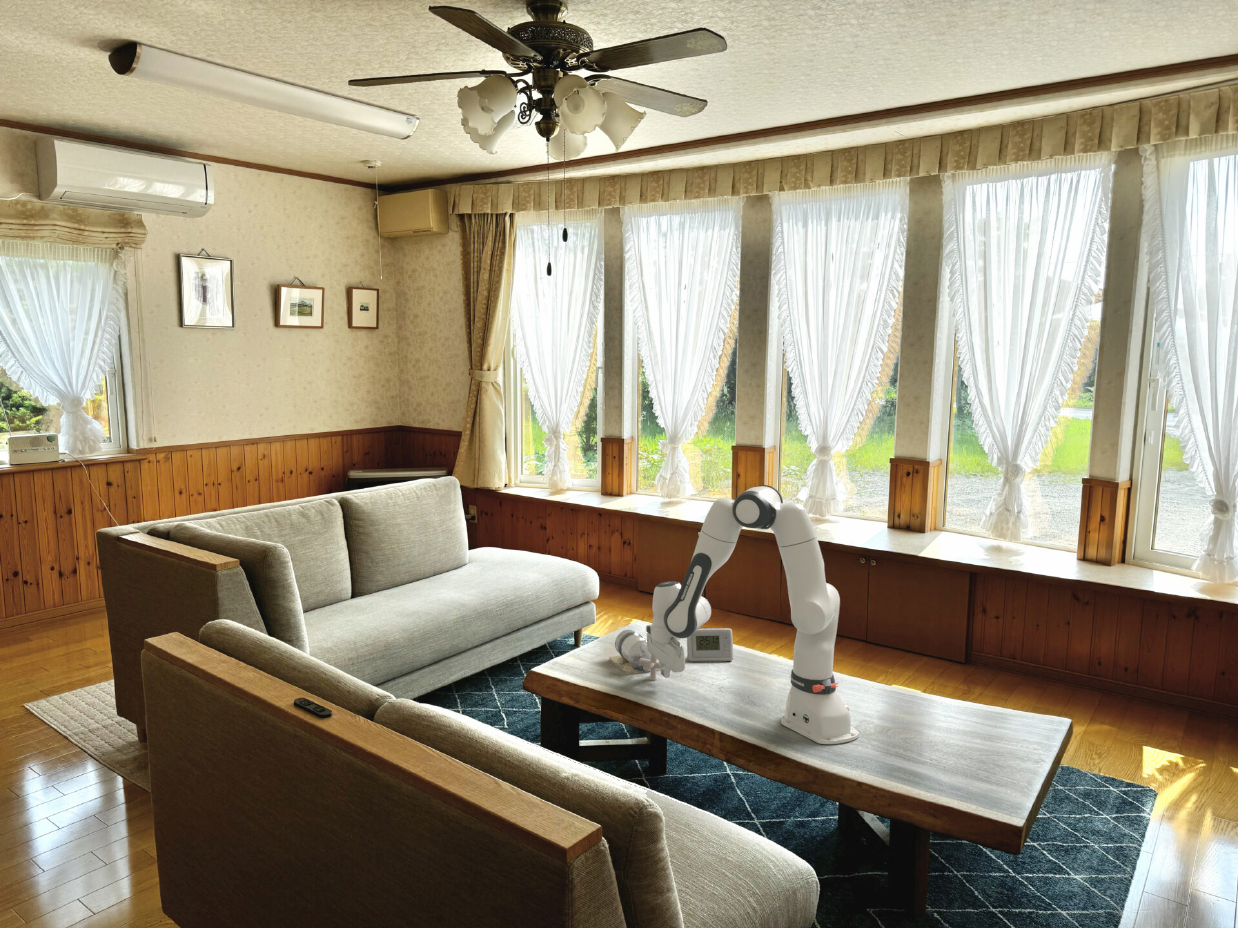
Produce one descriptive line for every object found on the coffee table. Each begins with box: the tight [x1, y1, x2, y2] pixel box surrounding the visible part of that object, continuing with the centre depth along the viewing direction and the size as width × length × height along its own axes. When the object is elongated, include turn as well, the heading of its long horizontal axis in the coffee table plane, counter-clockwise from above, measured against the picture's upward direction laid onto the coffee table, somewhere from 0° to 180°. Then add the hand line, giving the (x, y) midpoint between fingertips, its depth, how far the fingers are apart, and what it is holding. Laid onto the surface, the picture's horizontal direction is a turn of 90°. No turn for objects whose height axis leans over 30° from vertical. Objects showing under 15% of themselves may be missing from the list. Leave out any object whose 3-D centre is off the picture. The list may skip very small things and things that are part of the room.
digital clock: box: [686, 627, 734, 663], centre depth 287 cm, size 16×9×11 cm, turn 85°
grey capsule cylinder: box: [608, 629, 661, 676], centre depth 280 cm, size 14×13×11 cm
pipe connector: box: [639, 655, 660, 681], centre depth 268 cm, size 10×10×10 cm
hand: (665, 675), depth 261 cm, fingers closed
